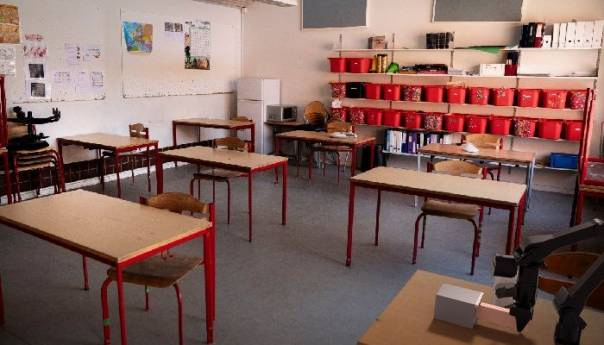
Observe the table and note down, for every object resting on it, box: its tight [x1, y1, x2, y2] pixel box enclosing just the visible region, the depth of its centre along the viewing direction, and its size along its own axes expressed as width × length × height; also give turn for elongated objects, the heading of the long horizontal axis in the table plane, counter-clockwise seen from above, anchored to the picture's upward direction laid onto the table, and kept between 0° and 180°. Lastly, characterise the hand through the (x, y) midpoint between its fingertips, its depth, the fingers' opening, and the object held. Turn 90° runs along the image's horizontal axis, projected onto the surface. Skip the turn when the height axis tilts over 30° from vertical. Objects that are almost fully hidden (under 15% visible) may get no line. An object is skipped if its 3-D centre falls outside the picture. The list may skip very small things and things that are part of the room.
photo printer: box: [490, 271, 518, 308], centre depth 171 cm, size 10×4×12 cm, turn 123°
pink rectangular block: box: [475, 301, 529, 333], centre depth 155 cm, size 16×2×5 cm, turn 61°
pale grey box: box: [433, 283, 485, 330], centre depth 161 cm, size 13×10×8 cm
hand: (520, 327), depth 152 cm, fingers open, 6 cm apart
